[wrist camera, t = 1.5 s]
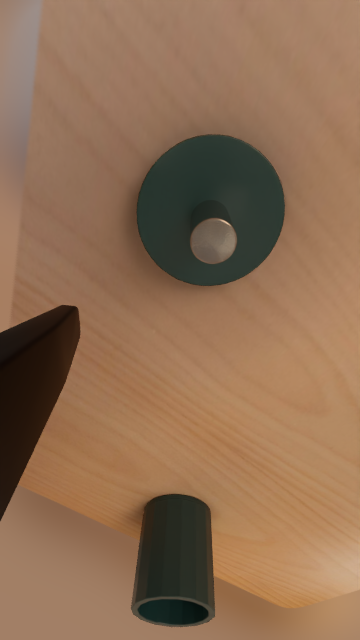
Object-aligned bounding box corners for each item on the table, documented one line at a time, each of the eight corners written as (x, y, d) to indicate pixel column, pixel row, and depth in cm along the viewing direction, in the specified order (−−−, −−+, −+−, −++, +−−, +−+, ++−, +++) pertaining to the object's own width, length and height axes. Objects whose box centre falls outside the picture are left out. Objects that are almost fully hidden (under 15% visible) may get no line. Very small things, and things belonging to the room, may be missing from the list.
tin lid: (112, 178, 18) (87, 197, 14) (252, 101, 16) (274, 94, 12) (177, 296, 22) (173, 339, 18) (296, 247, 20) (325, 282, 16)
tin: (132, 502, 37) (115, 603, 29) (193, 488, 35) (193, 591, 27) (163, 533, 40) (156, 630, 33) (220, 522, 38) (227, 622, 31)
